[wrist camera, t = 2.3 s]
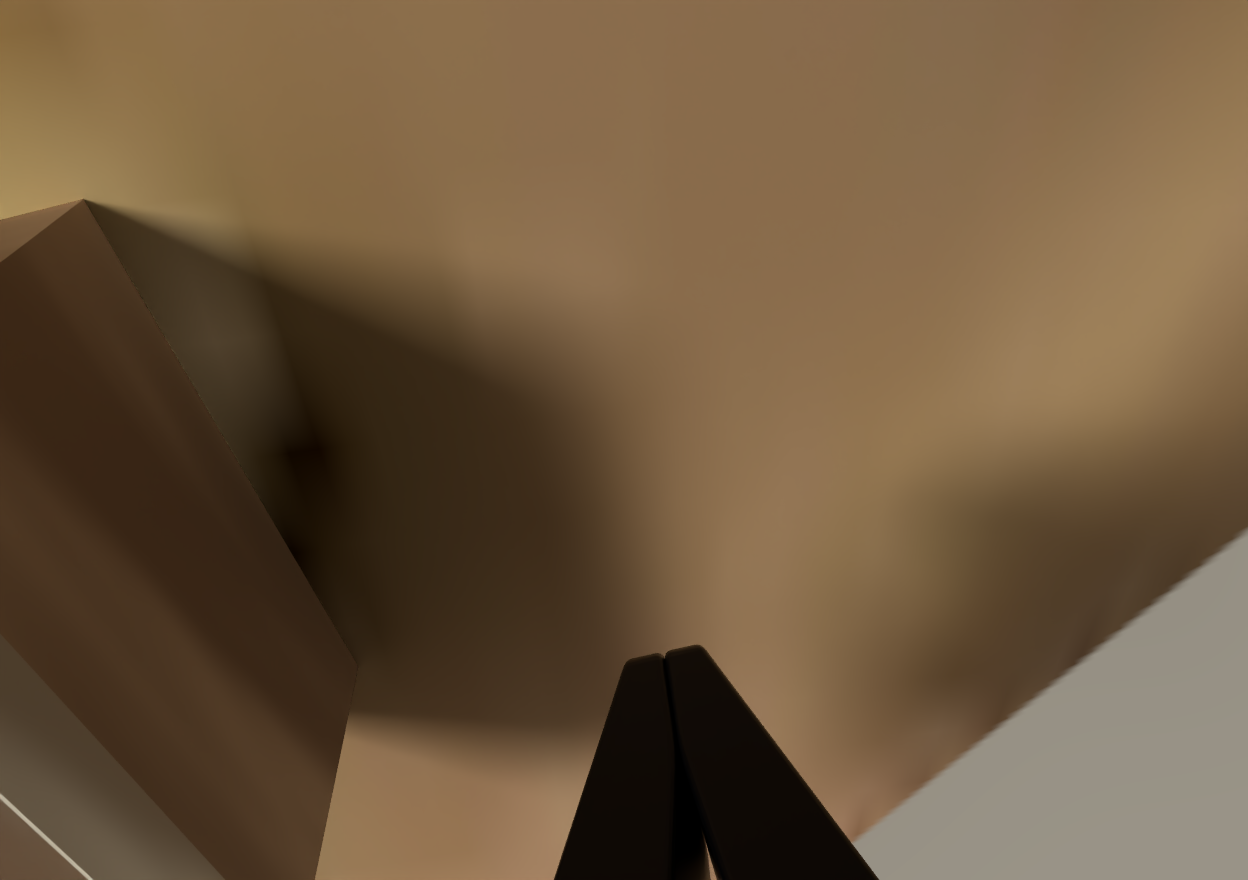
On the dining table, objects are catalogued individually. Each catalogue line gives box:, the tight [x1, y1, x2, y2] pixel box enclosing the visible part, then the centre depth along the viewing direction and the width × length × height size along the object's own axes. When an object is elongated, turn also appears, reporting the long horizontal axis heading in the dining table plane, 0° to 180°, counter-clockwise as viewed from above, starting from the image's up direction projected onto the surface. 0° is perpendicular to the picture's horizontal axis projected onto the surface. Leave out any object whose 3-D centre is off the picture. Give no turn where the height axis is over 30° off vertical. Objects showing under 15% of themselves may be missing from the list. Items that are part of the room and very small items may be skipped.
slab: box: [0, 199, 358, 880], centre depth 12 cm, size 3×10×7 cm, turn 12°
